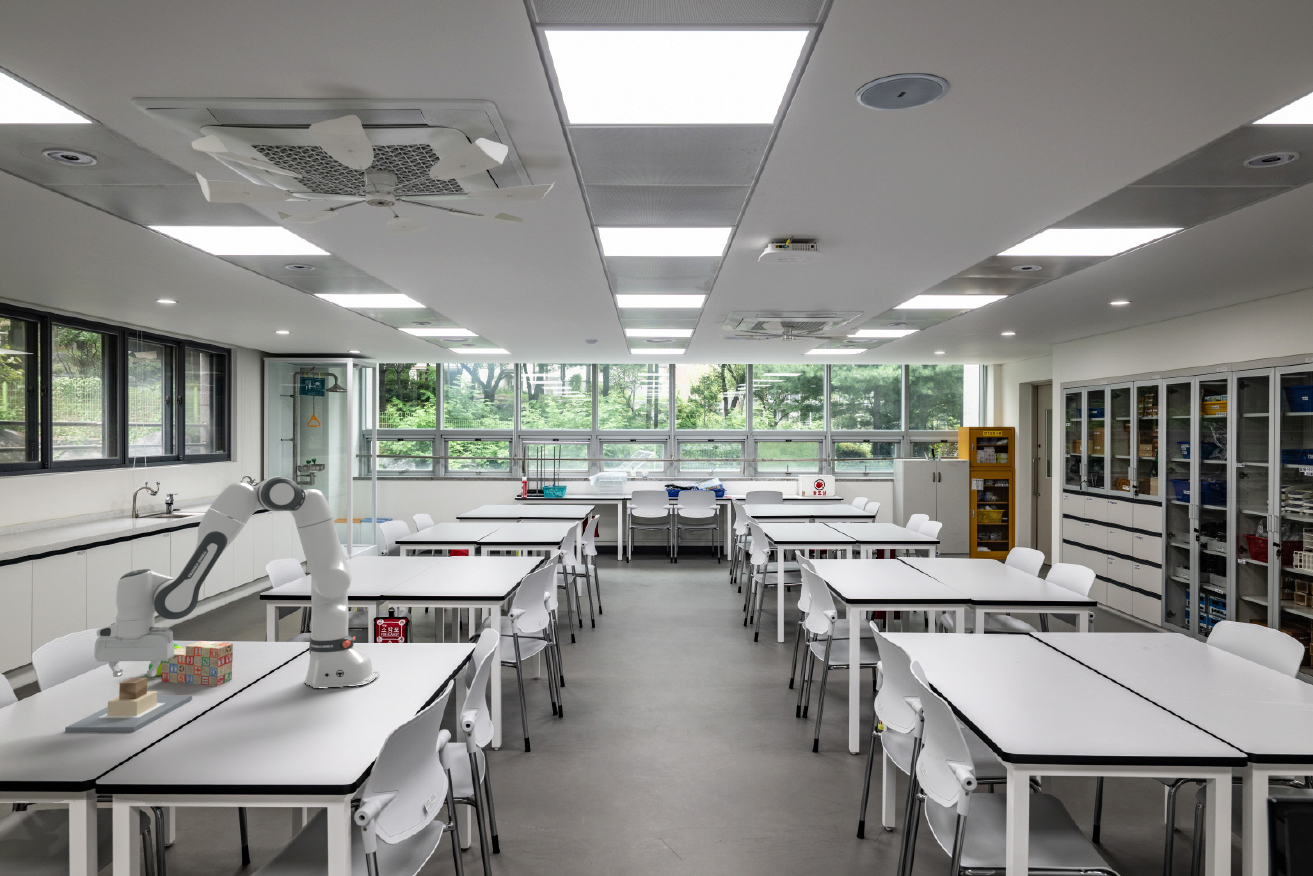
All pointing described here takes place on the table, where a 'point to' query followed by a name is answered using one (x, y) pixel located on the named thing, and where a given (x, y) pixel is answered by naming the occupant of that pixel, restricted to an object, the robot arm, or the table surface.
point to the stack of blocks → (200, 664)
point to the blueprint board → (126, 722)
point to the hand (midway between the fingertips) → (134, 676)
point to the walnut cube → (133, 688)
